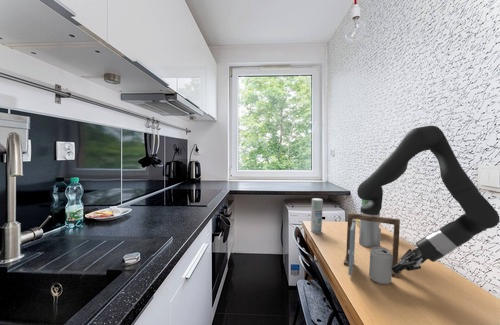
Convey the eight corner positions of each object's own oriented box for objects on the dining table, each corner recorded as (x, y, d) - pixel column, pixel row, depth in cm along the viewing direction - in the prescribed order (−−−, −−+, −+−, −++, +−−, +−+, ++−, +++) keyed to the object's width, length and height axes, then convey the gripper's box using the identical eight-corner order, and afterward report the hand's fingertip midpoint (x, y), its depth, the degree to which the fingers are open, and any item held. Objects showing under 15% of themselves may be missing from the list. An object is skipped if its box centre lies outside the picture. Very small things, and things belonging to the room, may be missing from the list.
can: (394, 286, 85) (396, 254, 85) (372, 284, 87) (373, 252, 86) (386, 276, 93) (388, 246, 92) (366, 273, 94) (367, 244, 94)
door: (350, 260, 104) (352, 220, 103) (355, 261, 103) (357, 220, 102) (347, 274, 91) (348, 229, 90) (352, 275, 90) (354, 230, 89)
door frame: (343, 264, 102) (345, 214, 101) (345, 257, 109) (347, 210, 108) (399, 277, 92) (402, 222, 91) (397, 268, 99) (400, 217, 98)
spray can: (313, 233, 140) (314, 200, 139) (308, 229, 147) (309, 198, 146) (323, 232, 142) (324, 200, 141) (318, 229, 148) (319, 198, 147)
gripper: (423, 230, 88) (384, 255, 95) (431, 242, 77) (386, 269, 83) (440, 247, 86) (399, 271, 92) (450, 262, 75) (403, 288, 81)
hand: (393, 270), depth 88 cm, fingers closed
